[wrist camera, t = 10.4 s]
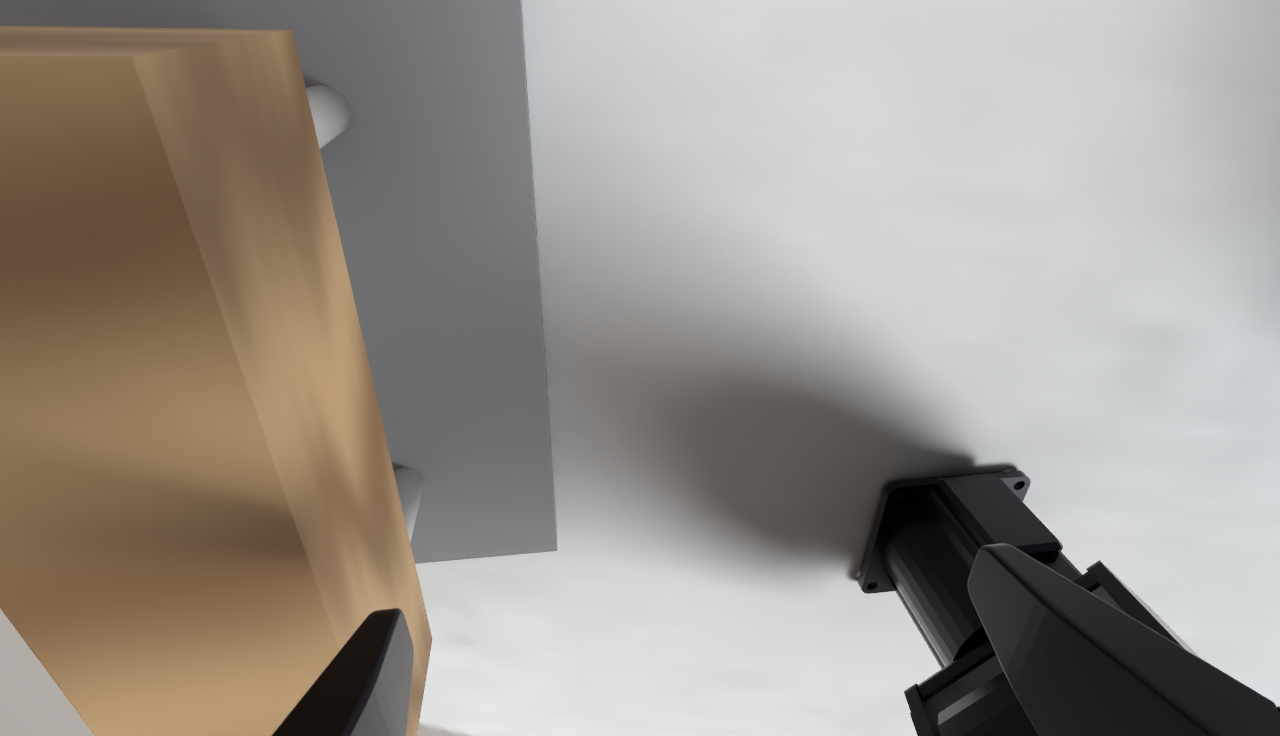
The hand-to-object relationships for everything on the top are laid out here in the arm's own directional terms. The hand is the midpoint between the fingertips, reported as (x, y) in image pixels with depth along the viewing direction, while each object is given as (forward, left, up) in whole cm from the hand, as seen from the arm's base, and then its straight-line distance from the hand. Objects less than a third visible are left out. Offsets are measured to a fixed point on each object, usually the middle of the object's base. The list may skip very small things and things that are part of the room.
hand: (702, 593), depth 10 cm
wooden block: (-1, +8, -6) cm, 11 cm away
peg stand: (-1, +8, -13) cm, 15 cm away
